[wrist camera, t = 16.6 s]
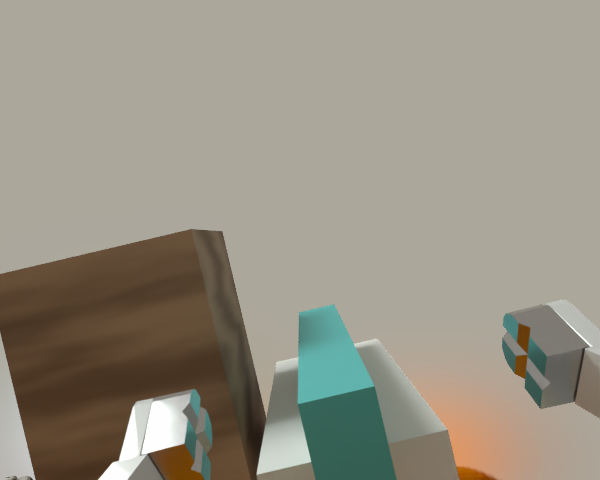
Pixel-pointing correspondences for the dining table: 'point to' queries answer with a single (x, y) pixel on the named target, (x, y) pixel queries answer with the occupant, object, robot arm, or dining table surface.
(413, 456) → the block
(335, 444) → the teal box
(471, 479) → the dining table surface
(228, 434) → the walnut stand
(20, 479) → the flask
